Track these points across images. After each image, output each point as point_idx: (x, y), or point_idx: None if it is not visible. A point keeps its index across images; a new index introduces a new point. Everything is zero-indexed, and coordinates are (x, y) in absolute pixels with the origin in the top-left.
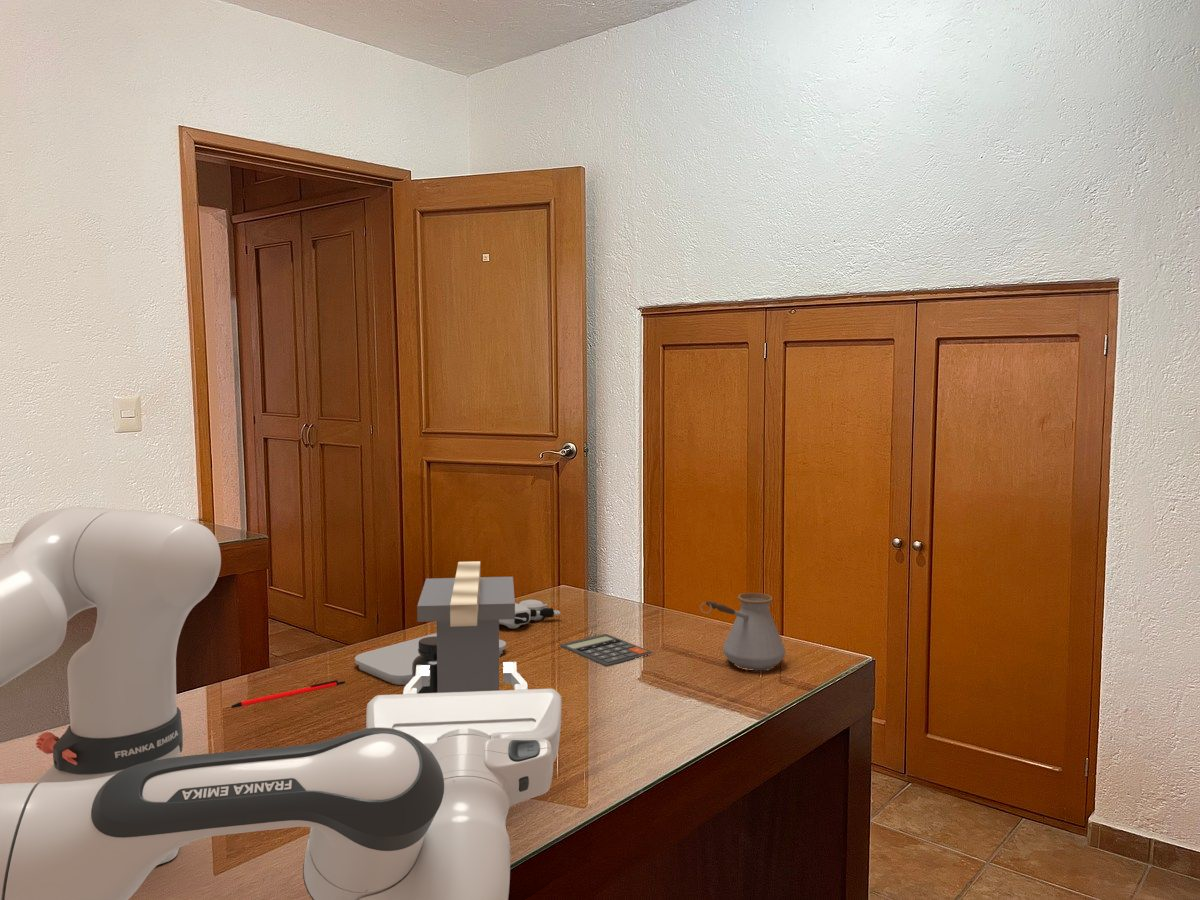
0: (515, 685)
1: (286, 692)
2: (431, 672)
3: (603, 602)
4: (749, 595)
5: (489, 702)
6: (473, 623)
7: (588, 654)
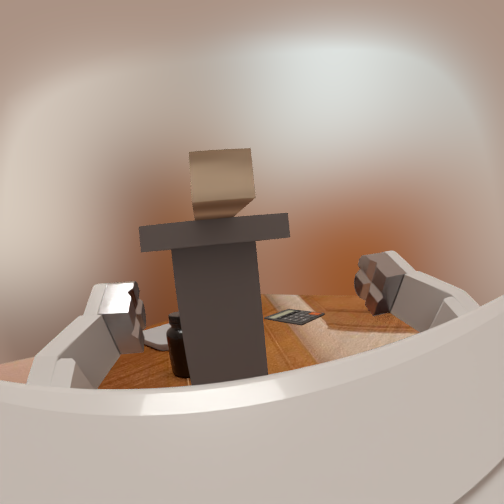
0: (448, 302)
1: None
2: (182, 339)
3: (276, 296)
4: None
5: (454, 384)
6: (246, 192)
7: (285, 320)
